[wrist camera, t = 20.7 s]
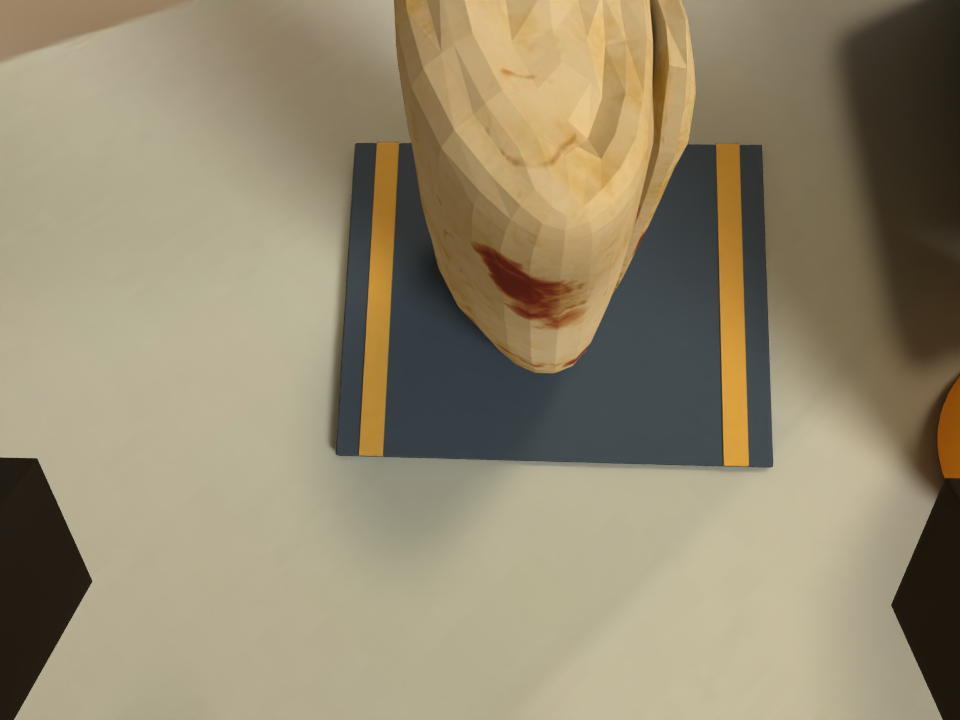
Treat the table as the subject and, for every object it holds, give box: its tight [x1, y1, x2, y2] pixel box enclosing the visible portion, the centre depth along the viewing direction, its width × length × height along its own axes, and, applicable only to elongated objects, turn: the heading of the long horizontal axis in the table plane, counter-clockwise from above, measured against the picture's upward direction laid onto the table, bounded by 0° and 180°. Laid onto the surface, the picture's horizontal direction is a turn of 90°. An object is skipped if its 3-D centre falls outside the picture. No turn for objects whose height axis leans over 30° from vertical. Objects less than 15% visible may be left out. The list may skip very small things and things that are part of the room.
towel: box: [336, 142, 773, 468], centre depth 34 cm, size 18×14×1 cm
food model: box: [394, 0, 696, 373], centre depth 24 cm, size 10×7×20 cm
